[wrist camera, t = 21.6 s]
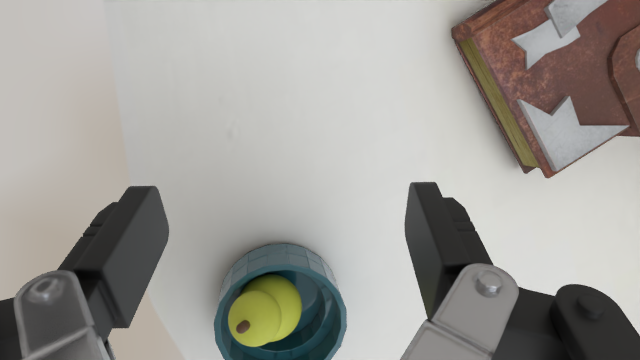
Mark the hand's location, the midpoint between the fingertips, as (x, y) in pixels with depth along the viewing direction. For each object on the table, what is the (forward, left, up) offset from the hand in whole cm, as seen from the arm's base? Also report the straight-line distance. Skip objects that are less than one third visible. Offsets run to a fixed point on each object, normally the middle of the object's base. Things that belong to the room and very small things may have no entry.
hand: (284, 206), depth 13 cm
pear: (+4, -14, -21) cm, 26 cm away
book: (+25, +16, -22) cm, 37 cm away
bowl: (+4, -14, -22) cm, 26 cm away
